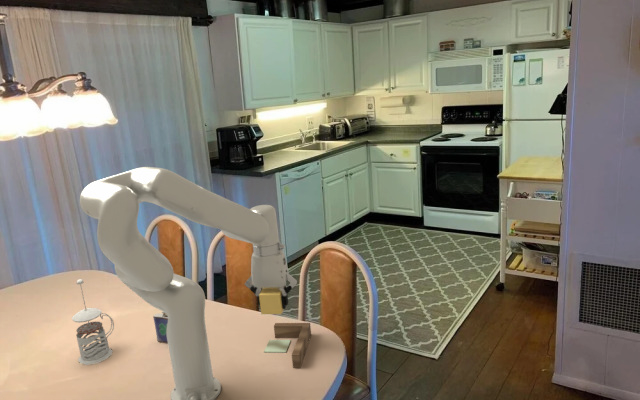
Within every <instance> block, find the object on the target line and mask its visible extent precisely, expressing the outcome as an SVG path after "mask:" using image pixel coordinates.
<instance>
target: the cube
mask: <svg viewBox="0 0 640 400" xmlns="http://www.w3.org/2000/svg"><path fill="white" fill-rule="evenodd" d="M281 296H282V293H281V291H280V289H279V287H276V288H262V291H261V293H260V294H259V300H260V305H259V308H260V307H261V309H260V313H261V314H260V315H282V314H283V312H284V310H285V309H283V308H282V301H281Z"/></svg>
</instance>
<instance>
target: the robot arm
mask: <svg viewBox="0 0 640 400" xmlns="http://www.w3.org/2000/svg"><path fill="white" fill-rule="evenodd" d="M144 202H145V203H151V204H154V205H156V206H159V207H161V208H163V209H165V210H167V211H169V212H171V213H174V214H176V215H178V216H180V217H182V218H184V219H187V220H189V221H191V222H193V223H197V224H199V225H203V226H206V227H209V228H213V229H218V230H220V231H221V232H222V233H223V235H224V236H226V237H227V238H230V239H233V240H236V241H241V242H246V243H247V244H252V250H253V252H252V254H251V258H250V259H251V260H250V261H251V262H250V270H251V274H250V277H248V279H247V280H245V283H244V286H246V288H248V290H250V292H252V293H253V294H254V295H255V296H256V298H257V299H256V300H257V305H258V306H259V309H260V310H261V307H260V300H259V294H260V293H261V291H262V289H263V288H276V287H279V289H280V291H281V293H282V296H281V301H282V308H283V309H284V310H285V309H286V307H287V305H289V296H288V294H289V293H290V292H291V290H292V289H293V288H294V287H295V286H296V285H297V284H298V280H297V279H296V278H294V277H293V276H292V275H291V274H290V272H289V268H288V263H287V259H286V255H285V253H284V250H285V247H286V246H285V244H284V243H281V241H280V236H279V230H278V229H279V228H278V220H277V212H276V208H275V207H274V206H273V205H270V204H260V205H259V204H258V205H256V206H253V207H251V208H248V207H246V206H245V205H244V206H243V205H242V204H239V203H236V202H235V201H232V200H230V199H228V198H225V197H224V196H222V195H219V194H218V193H215V192H212V191H211V190H208V189H206V188H204V187H202V186H200V185H198V184H197V183H195V182H192V181H191V180H189V179H187V178H185V177H183V176H181V175H180V174H178V173H176V172H174V171H172V170H170V169H167V168H162V167H154V166H153V167H152V166H142V167H141V166H140V167H137V168H134V169H130V170H128V171H127V170H126V171H125V172H121V173H118V174H114V175H111V176H107V177H105V178H102V179H98V180H95V181H92V182H90V183H89V184H88V185H87V186H85V187H84V188H83V189H82V191H81V193H80V197H79V205H80V208H81V210H82V211H83V212H84V213H85V214H86V215H87V216H89V217H91V218H93V219H96V220H97V221H98V222H97V228H96V230H97V234H96V235H97V236H96V237H97V243H98V246H99V248H100V251H101V252H102V253H103V255H104V257H106V258H107V259H108V260H109V261H110V262H111V263H112V264H113V265H114V272H115V274H116V276H117V278H118V279H119V281H121V282H122V283H123V284H124V285H125V286H126V287H128V288H129V289H130V290H131V291H132V292H133V293H135V294H136V295H137V296H139V297H140V298H141V299H142V300H143V301H145V302H146V303H147V304H149V306H152V307H153V308H155V309H157V310H159V311H161V312H165V313H166V314H167V316H168V323H167V330H166V333H167V341H168V344H167V347H168V351H169V352H168V353H169V358H170V362H171V363H170V364H171V368H172V369H171V370H172V374H173V381H174V387H173V389H171V390H172V391H171V392H170V400H216V399H217V397H218V396H219V395H220V393H221V391H222V387H221V386H222V385H221V382H220V380H218V379H217V378H216V377H214V374H213V367H212V360H211V353H210V347H209V339H208V333H207V327H206V326H207V325H206V317H205V315H206V313H205V312H206V311H205V310H206V296H205V295H206V294H205V292H204V290H203V288H202V287H201V286H200V285H199V284H198V283H197V282H196V281H194V280H192V279H190V278H188V277H185V276H184V275H183V276H182V275H179V274H177V273H174V268H173V265H172V264H171V262H170V260H169V259H168V258H167V257H166V256H165V255H164V254H163V253H162V252H160V251H159V250H158V249H157V248H155V246H153V244H151V243H150V242H149V240H147V239H146V238H145V237H144V235H143V234H142V233H141V232H140V231H139V228H138V218H139V217H138V216H139V212H140V204H141V203H144ZM287 282H289V284H288V285H287Z"/></svg>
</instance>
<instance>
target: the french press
mask: <svg viewBox="0 0 640 400" xmlns="http://www.w3.org/2000/svg"><path fill="white" fill-rule="evenodd" d="M82 284H84V280H83V279H82V278H80V279H77V280H76V285H80V290H81V294H82V295H81V296H82V301H83V305H84V308H83V309H81V310H79V311H78V312H76V313H75V314H74V315H73V316H72V317H71V320H72V321H73V322H74V323H84V324H81V325H80V326H78V327H77V328H76V331H75V332H76V339H77V340H76V341H77V345H78V348H79V354H80V356H79V358H78V359H77V362H78V361H79V362H80V363H81V364H85V365H84V366H91V364H92V365H96V364H99V363H101V361H102V362H103V360H104V361H106V360H107V359H109V358H110V357H111V356H112V354H113V353H112V352H113V349H112V348H109V347H110V346H109V342H108V337H109V336H110V335H111V334H112V333H113V331H114V329H115V323H114V319H113V318H112V316H110V315H109V314H107V313H103V312H102V309H99V308H95V307H87V308H86V302H85V297H84V292H83V288H82V287H83V286H82ZM98 317H100V318H101V320H103V319H104V317H108V318H109V319H110V323H111V324H110V328H109V331H107V332H106V331H105V329H104V326H103V322H101V321H92V320H95V319H97V318H98ZM111 330H112V331H111ZM87 336H88V337H87ZM111 349H112V350H111ZM111 353H112V354H111ZM110 355H111V356H110ZM109 356H110V357H109ZM105 359H106V360H105ZM80 363H79V364H80ZM95 363H96V364H95ZM81 364H80V365H81ZM89 364H90V365H89Z"/></svg>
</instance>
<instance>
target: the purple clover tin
mask: <svg viewBox="0 0 640 400" xmlns="http://www.w3.org/2000/svg"><path fill="white" fill-rule="evenodd" d="M152 317H153V323H154V326H155V327H154V328H155V334H156V340H157V342H158V343H163V344H167V345H168V341H167V333H166V330H167V323H168V316H167V314H166V313H165V312H163V311H161V313H155V314H153V316H152Z"/></svg>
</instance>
